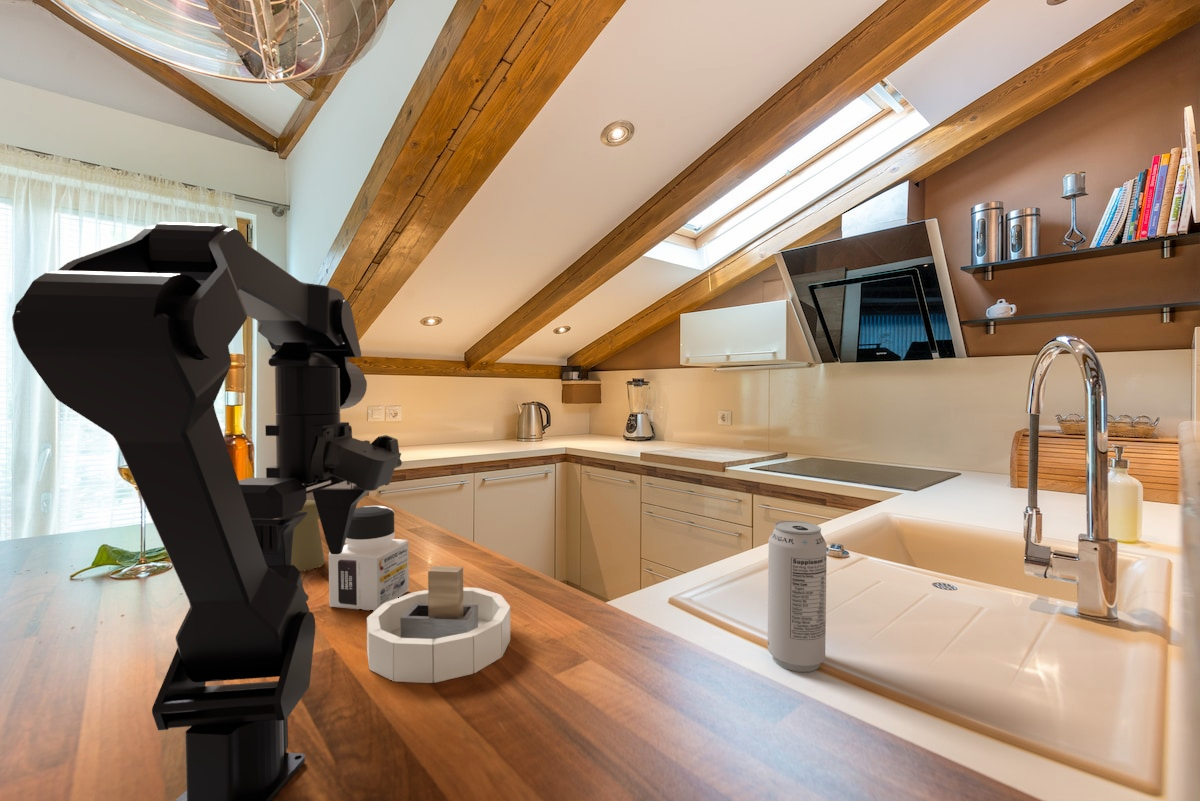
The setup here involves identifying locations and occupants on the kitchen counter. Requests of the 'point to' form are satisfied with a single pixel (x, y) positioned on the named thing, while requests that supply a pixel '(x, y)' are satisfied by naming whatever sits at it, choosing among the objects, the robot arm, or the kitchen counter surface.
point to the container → (369, 562)
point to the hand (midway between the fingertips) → (311, 567)
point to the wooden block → (445, 591)
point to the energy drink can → (797, 595)
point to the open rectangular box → (436, 623)
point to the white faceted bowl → (437, 640)
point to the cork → (307, 540)
